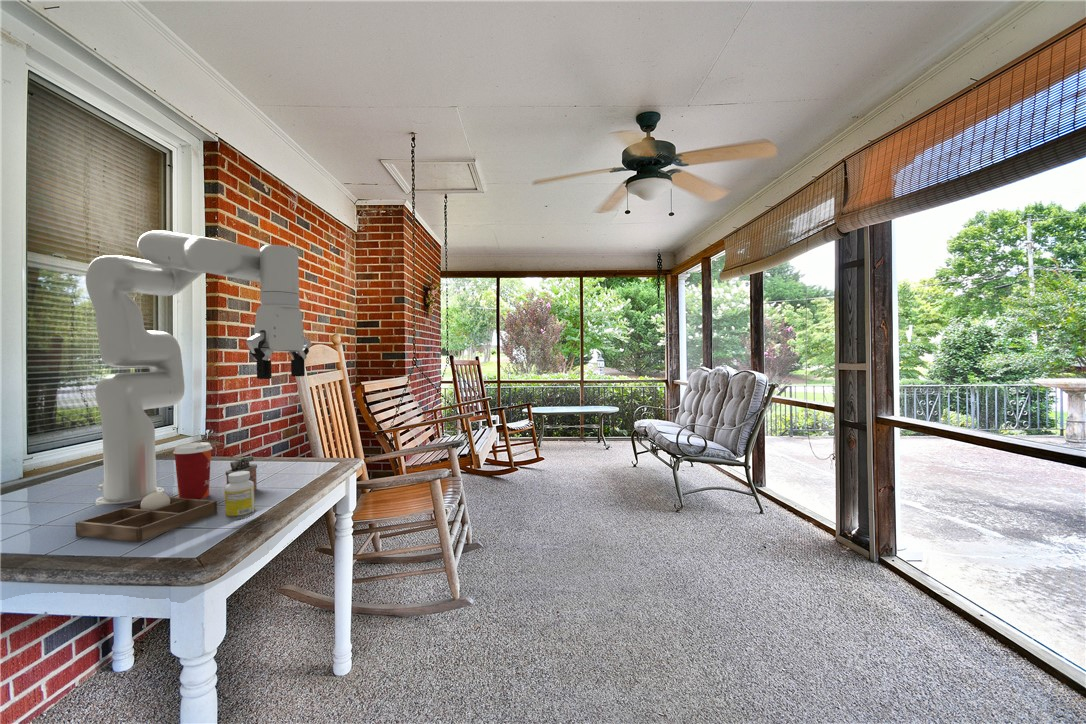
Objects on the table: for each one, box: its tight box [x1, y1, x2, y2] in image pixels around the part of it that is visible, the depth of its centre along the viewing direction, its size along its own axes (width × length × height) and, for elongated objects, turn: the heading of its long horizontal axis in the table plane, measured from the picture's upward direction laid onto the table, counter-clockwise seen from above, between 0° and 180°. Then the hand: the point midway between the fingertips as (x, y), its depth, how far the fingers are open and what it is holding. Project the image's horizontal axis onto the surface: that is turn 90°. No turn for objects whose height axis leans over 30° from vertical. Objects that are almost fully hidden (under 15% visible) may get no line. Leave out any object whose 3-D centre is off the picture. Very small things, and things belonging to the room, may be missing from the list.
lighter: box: [225, 455, 258, 492], centre depth 112 cm, size 8×3×10 cm, turn 168°
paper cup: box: [172, 441, 213, 500], centre depth 109 cm, size 8×8×14 cm
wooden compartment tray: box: [75, 496, 218, 543], centre depth 93 cm, size 16×16×4 cm
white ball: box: [140, 492, 171, 510], centre depth 97 cm, size 5×5×5 cm
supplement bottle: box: [224, 471, 256, 521], centre depth 99 cm, size 5×5×10 cm
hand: (281, 377), depth 100 cm, fingers open, 9 cm apart
